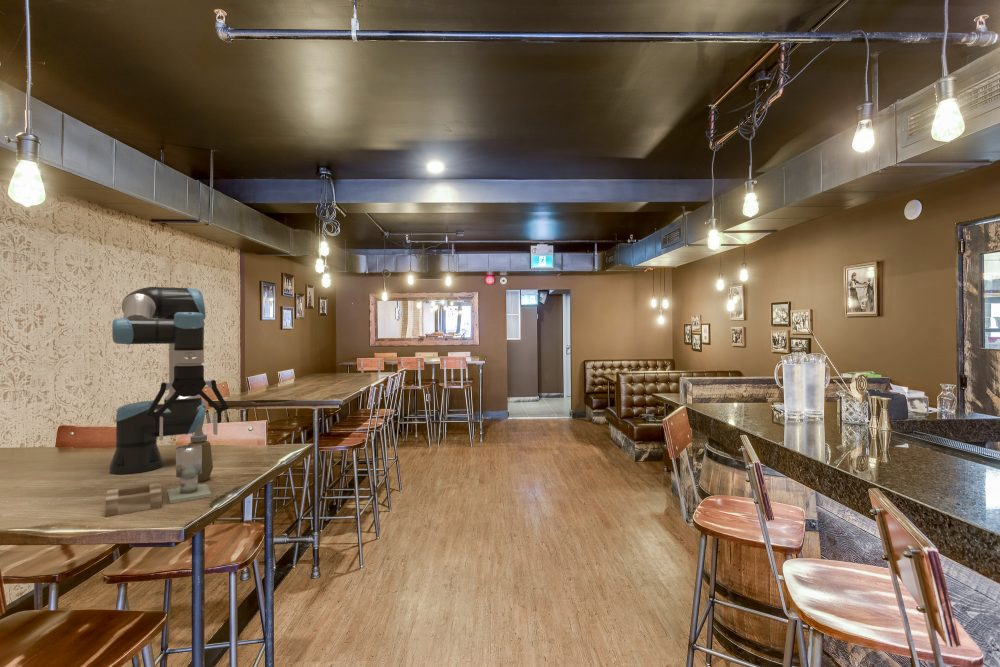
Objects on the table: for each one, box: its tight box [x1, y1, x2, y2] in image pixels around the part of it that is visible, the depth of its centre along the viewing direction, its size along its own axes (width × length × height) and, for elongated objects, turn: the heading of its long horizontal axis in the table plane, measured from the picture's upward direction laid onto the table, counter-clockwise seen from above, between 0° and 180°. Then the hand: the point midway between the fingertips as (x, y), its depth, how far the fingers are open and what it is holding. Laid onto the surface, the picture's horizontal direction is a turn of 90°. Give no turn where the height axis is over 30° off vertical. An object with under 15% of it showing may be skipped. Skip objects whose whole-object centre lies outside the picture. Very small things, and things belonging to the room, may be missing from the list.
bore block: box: [105, 481, 163, 517], centre depth 138 cm, size 12×12×4 cm
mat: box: [166, 483, 212, 504], centre depth 147 cm, size 12×10×1 cm
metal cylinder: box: [175, 444, 202, 494], centre depth 147 cm, size 6×6×13 cm
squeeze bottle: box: [187, 424, 214, 482], centre depth 162 cm, size 8×8×18 cm
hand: (188, 436), depth 148 cm, fingers open, 13 cm apart
